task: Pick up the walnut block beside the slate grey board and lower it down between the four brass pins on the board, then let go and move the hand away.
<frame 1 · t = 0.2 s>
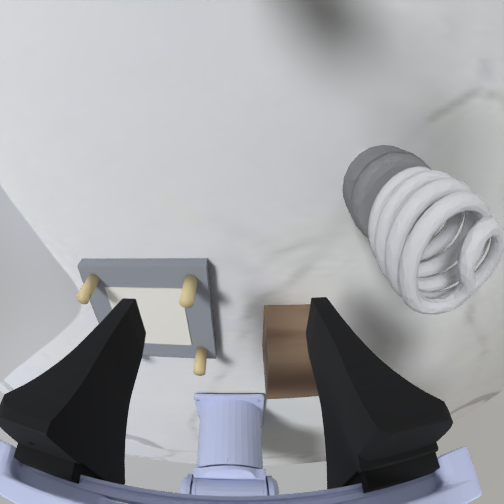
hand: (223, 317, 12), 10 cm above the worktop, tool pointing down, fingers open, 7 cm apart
walnut block: (291, 325, 27), on the worktop
standoff board: (152, 309, 25), on the worktop
light bulb: (365, 170, 19), on the worktop
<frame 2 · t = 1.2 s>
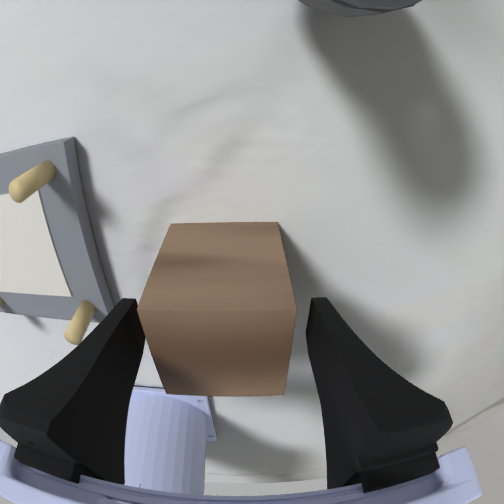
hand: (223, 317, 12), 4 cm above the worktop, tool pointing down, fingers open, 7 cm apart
walnut block: (225, 266, 16), on the worktop
standoff board: (22, 238, 14), on the worktop
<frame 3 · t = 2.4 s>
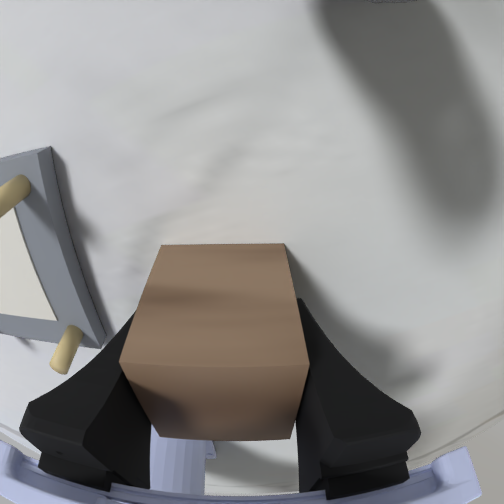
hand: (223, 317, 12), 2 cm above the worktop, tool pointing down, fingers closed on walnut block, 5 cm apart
walnut block: (224, 292, 14), on the worktop, touching gripper
standoff board: (3, 257, 12), on the worktop
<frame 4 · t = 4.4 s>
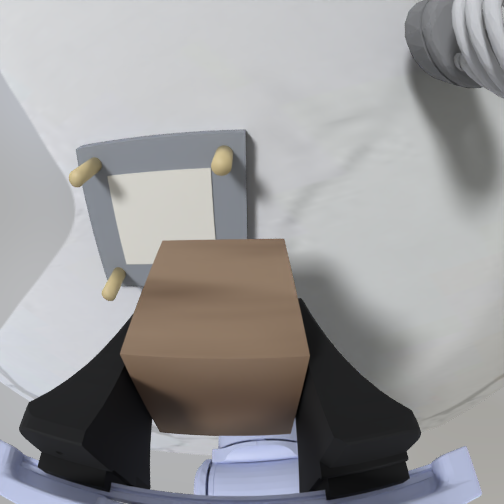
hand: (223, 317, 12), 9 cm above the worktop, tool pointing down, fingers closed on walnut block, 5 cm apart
walnut block: (225, 288, 14), point 7 cm above the worktop, touching gripper
standoff board: (166, 213, 20), on the worktop
light bulb: (417, 41, 14), on the worktop
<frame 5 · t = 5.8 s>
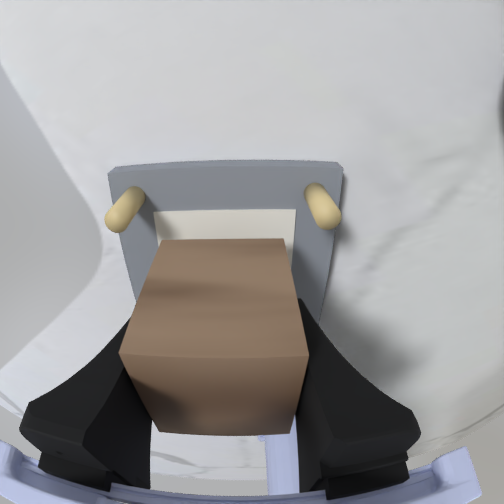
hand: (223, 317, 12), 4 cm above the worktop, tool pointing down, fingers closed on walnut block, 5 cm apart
walnut block: (224, 287, 14), point 3 cm above the worktop, touching gripper
standoff board: (227, 258, 16), on the worktop
when the fingers open (4 cm above the worktop, at t = 6.8 s): walnut block drops 1 cm, resting on standoff board.
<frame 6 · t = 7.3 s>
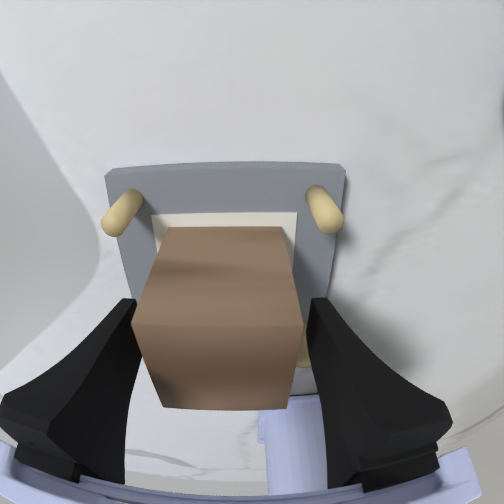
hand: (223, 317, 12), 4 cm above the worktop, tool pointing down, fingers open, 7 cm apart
walnut block: (225, 272, 15), point 1 cm above the worktop, touching standoff board
standoff board: (226, 261, 16), on the worktop
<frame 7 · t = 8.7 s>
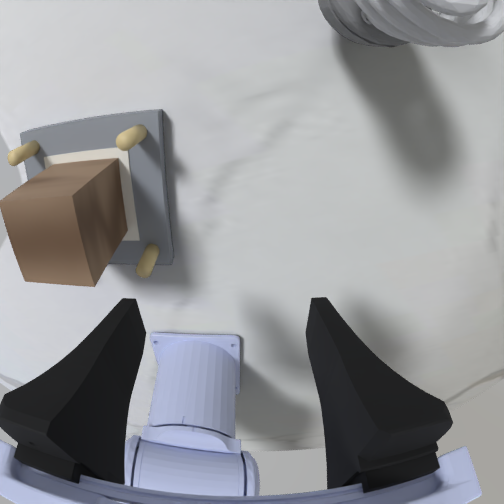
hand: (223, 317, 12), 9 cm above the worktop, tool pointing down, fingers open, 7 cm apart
walnut block: (89, 197, 18), point 1 cm above the worktop, touching standoff board
standoff board: (95, 192, 19), on the worktop
light bulb: (347, 12, 13), on the worktop
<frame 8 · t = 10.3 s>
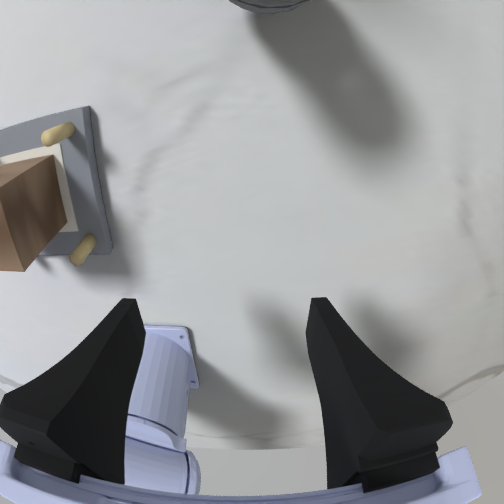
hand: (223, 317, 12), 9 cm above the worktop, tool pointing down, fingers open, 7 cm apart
walnut block: (33, 192, 17), point 1 cm above the worktop, touching standoff board
standoff board: (41, 187, 18), on the worktop
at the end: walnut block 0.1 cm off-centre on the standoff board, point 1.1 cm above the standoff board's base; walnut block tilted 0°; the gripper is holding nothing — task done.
